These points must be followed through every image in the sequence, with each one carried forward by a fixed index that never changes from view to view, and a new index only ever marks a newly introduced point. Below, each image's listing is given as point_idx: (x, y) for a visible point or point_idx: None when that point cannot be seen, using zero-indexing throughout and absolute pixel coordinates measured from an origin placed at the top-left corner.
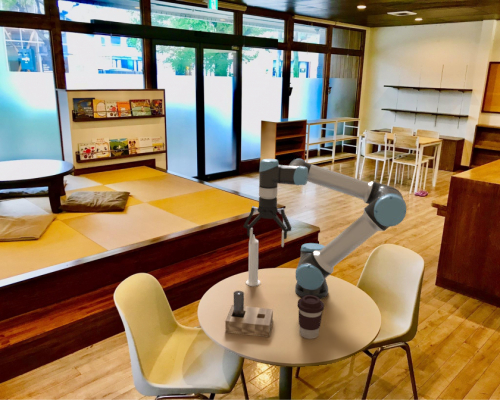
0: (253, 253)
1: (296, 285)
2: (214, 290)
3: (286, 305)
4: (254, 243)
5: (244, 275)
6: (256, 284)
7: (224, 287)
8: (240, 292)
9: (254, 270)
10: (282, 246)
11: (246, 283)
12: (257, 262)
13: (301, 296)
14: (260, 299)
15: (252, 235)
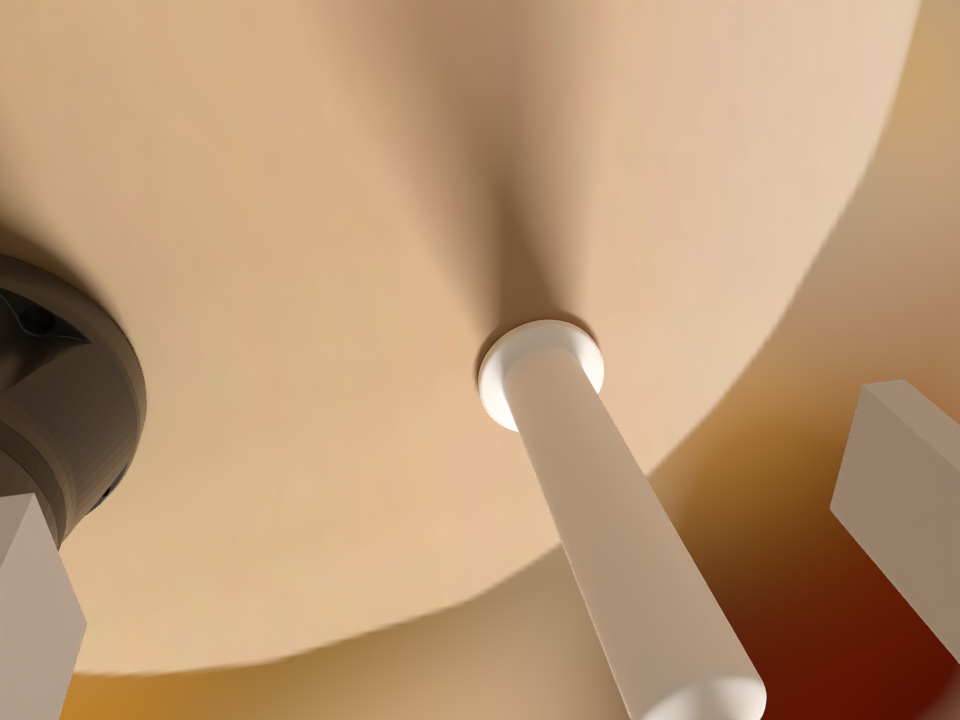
0: (642, 555)
1: (107, 378)
2: (848, 165)
3: (130, 64)
4: (686, 671)
5: None
6: (505, 346)
7: (767, 239)
8: None
9: (562, 426)
10: (1, 506)
11: (593, 341)
12: (558, 501)
13: (33, 267)
14: (420, 116)
15: (949, 639)
